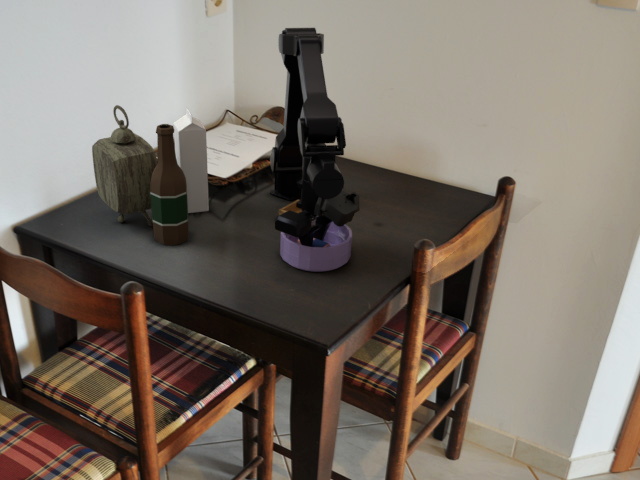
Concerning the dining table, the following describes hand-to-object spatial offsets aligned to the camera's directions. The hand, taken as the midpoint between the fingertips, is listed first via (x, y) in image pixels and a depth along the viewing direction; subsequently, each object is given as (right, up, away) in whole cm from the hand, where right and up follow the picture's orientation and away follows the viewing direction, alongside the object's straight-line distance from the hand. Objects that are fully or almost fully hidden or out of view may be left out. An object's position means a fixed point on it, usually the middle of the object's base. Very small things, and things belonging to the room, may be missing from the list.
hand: (312, 250), depth 153 cm
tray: (-1, +8, +15) cm, 17 cm away
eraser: (0, -1, +1) cm, 1 cm away
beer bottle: (-29, +3, +7) cm, 31 cm away
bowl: (+1, -1, +1) cm, 2 cm away
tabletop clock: (-40, +8, +14) cm, 43 cm away
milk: (-26, +12, +20) cm, 35 cm away
